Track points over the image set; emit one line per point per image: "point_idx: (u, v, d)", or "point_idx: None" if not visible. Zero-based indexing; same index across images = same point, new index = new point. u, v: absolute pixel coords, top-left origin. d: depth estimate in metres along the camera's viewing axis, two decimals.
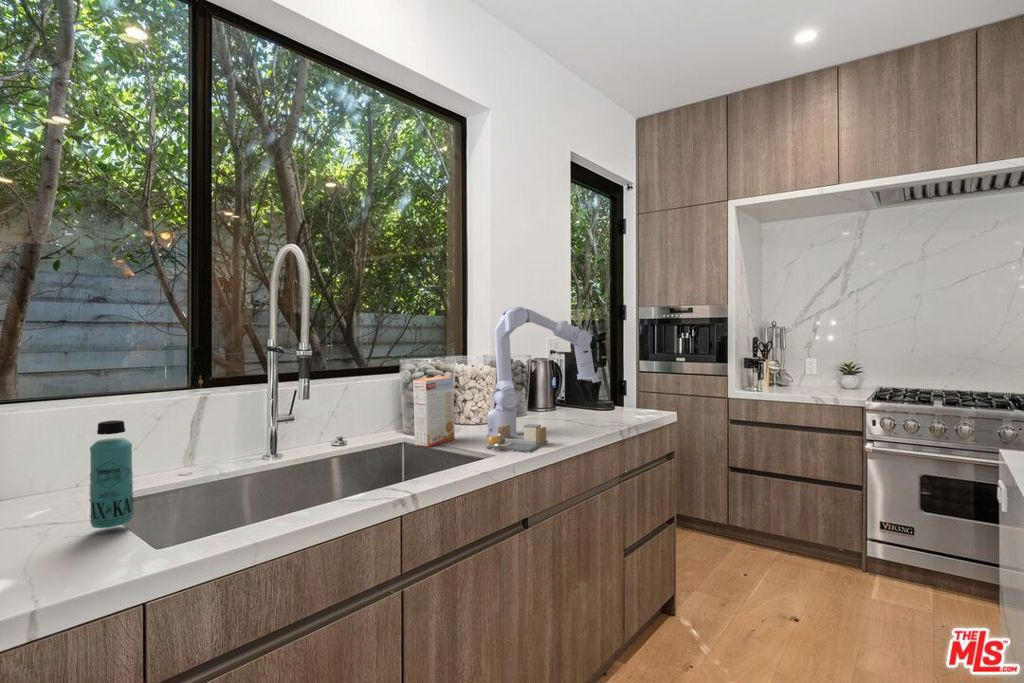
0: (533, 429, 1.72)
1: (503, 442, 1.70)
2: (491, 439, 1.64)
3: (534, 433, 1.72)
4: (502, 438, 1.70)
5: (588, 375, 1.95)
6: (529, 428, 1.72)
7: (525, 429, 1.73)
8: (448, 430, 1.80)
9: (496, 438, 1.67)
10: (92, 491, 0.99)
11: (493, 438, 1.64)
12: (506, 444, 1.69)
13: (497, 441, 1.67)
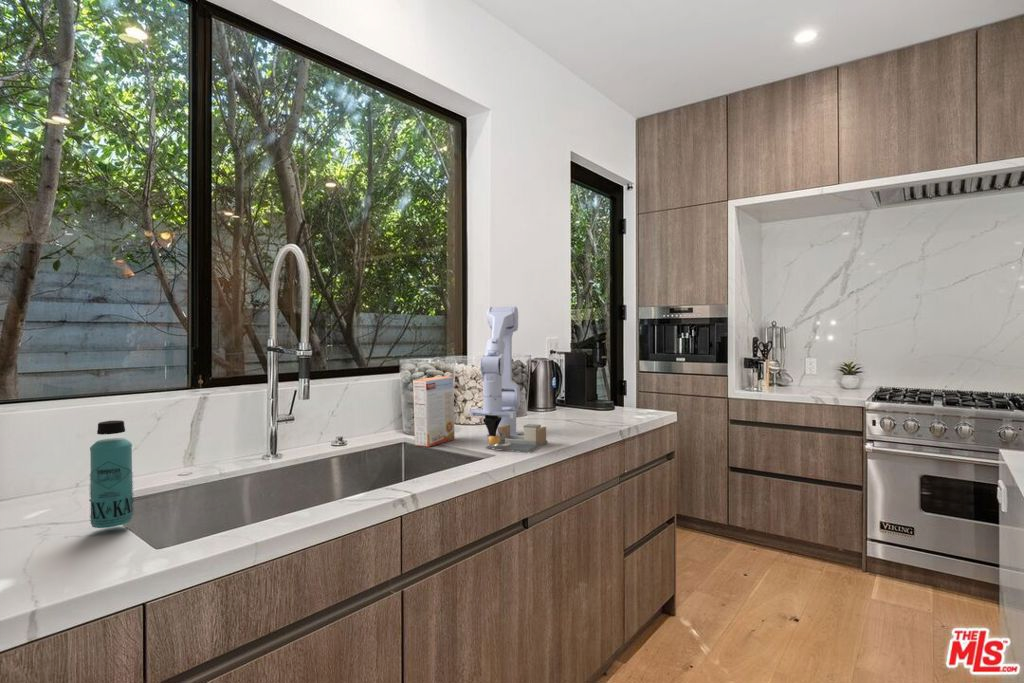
0: (533, 429, 1.72)
1: (503, 442, 1.70)
2: (491, 439, 1.64)
3: (534, 433, 1.72)
4: (502, 438, 1.70)
5: None
6: (529, 428, 1.72)
7: (525, 429, 1.73)
8: (448, 430, 1.80)
9: (496, 438, 1.67)
10: (92, 491, 0.99)
11: (493, 438, 1.64)
12: (506, 444, 1.69)
13: (497, 441, 1.67)
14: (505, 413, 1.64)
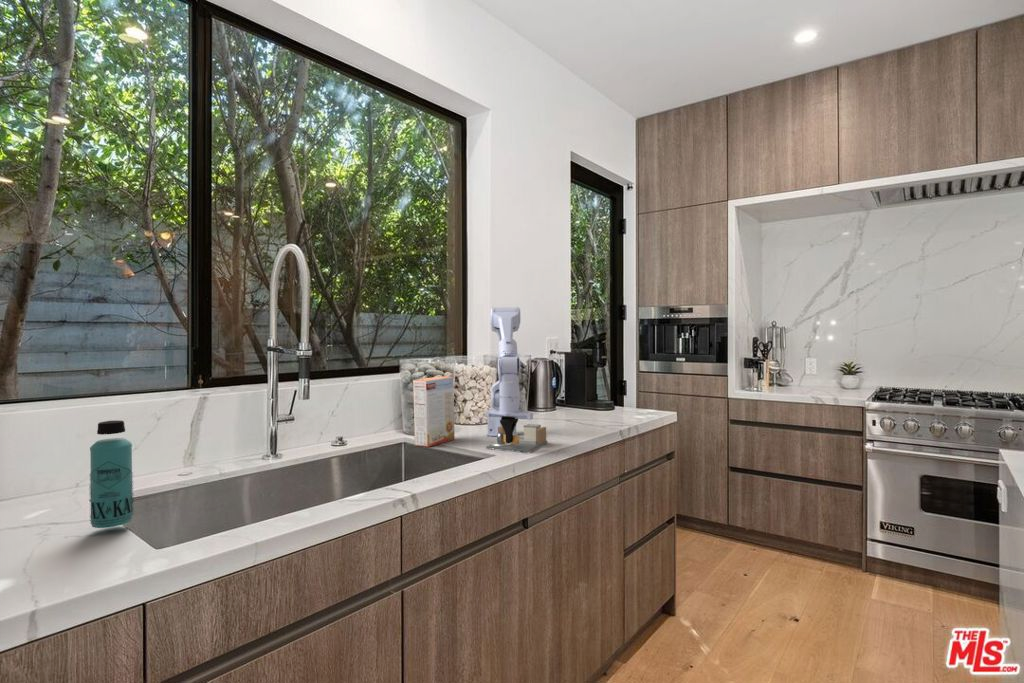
0: (533, 429, 1.72)
1: (503, 442, 1.70)
2: (518, 437, 1.66)
3: (534, 433, 1.72)
4: (502, 438, 1.70)
5: None
6: (529, 428, 1.72)
7: (525, 429, 1.73)
8: (448, 430, 1.80)
9: None
10: (92, 491, 0.99)
11: None
12: (506, 444, 1.69)
13: None
14: (522, 414, 1.62)
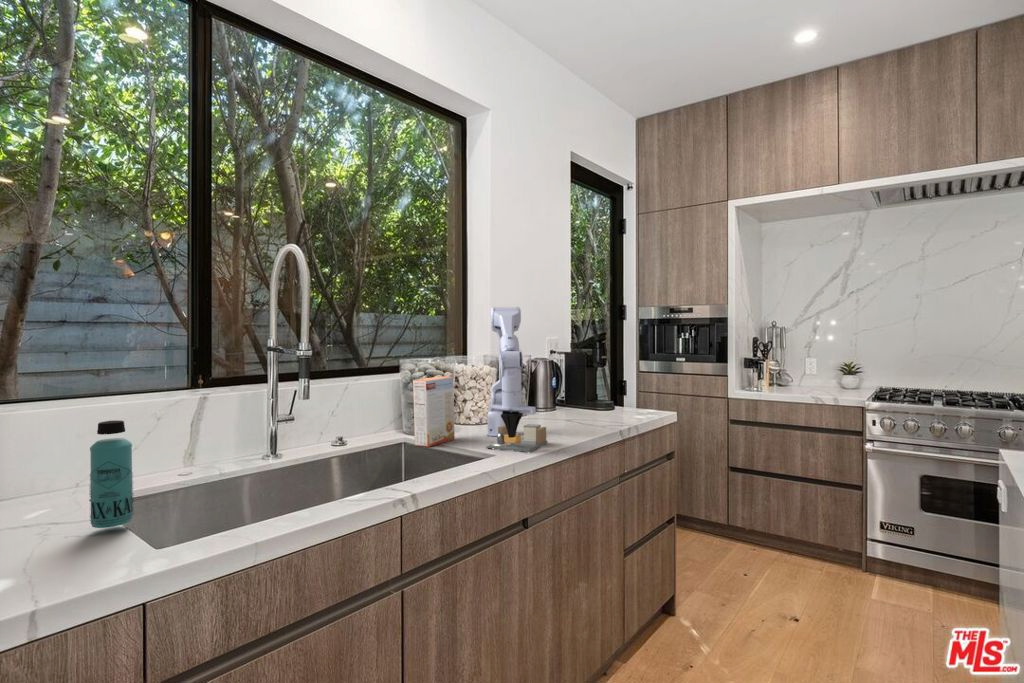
0: (533, 429, 1.72)
1: (503, 442, 1.70)
2: (520, 437, 1.67)
3: (534, 433, 1.72)
4: (502, 438, 1.70)
5: None
6: (529, 428, 1.72)
7: (525, 429, 1.73)
8: (448, 430, 1.80)
9: None
10: (92, 491, 0.99)
11: None
12: (506, 444, 1.69)
13: None
14: (525, 409, 1.61)
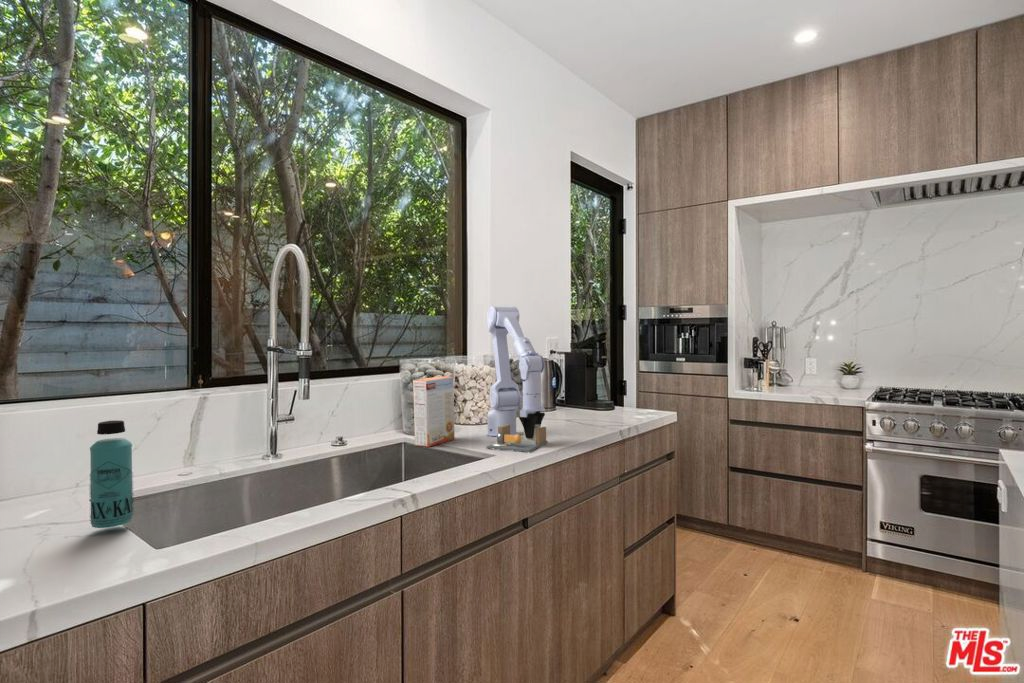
0: None
1: (503, 442, 1.70)
2: (520, 437, 1.67)
3: (534, 433, 1.72)
4: (502, 438, 1.70)
5: (526, 407, 1.72)
6: None
7: None
8: (448, 430, 1.80)
9: None
10: (92, 491, 0.99)
11: None
12: (506, 444, 1.69)
13: None
14: None
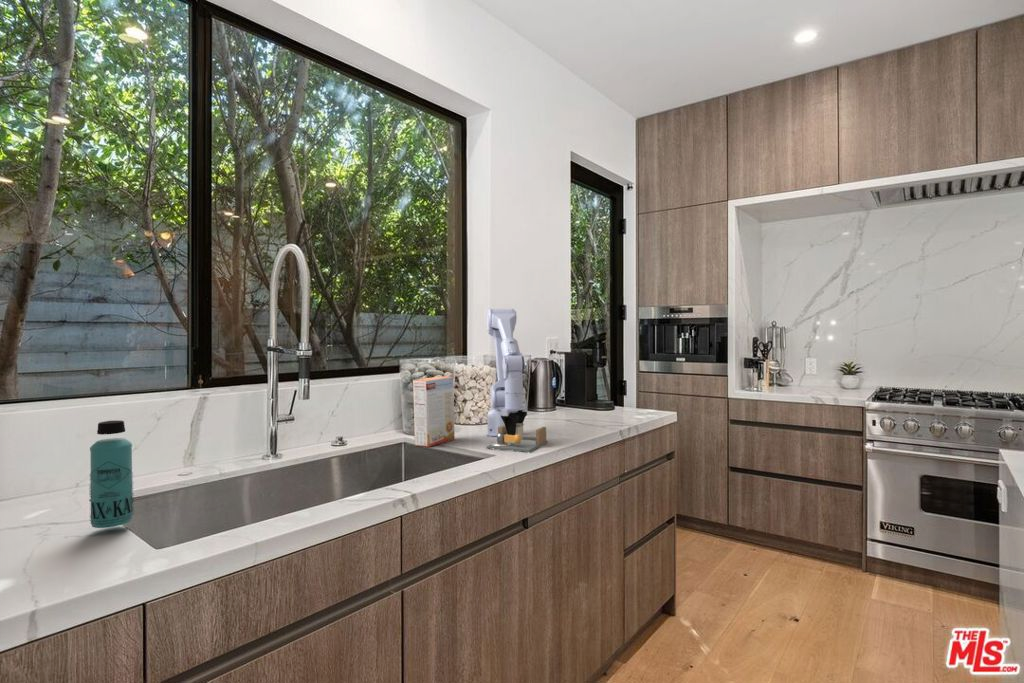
0: None
1: (503, 442, 1.70)
2: (520, 437, 1.67)
3: (516, 432, 1.74)
4: (502, 438, 1.70)
5: (508, 406, 1.74)
6: None
7: None
8: (448, 430, 1.80)
9: None
10: (92, 491, 0.99)
11: None
12: (506, 444, 1.69)
13: None
14: (524, 406, 1.80)
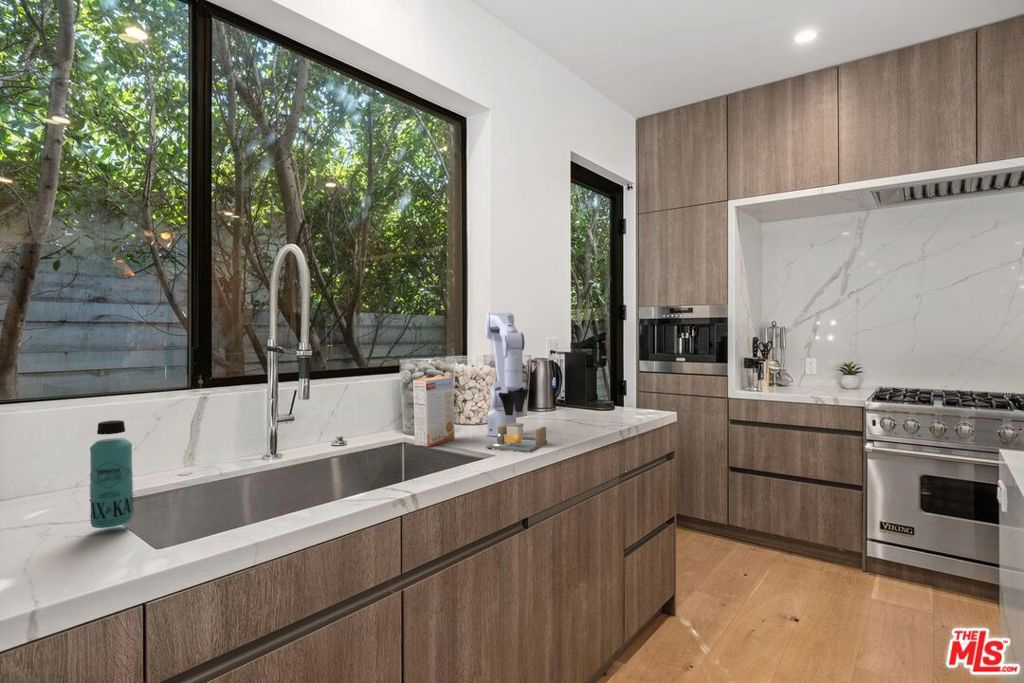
0: (515, 428, 1.74)
1: (503, 442, 1.70)
2: (520, 437, 1.67)
3: (516, 432, 1.74)
4: (502, 438, 1.70)
5: (508, 384, 1.74)
6: (512, 427, 1.75)
7: (508, 428, 1.75)
8: (448, 430, 1.80)
9: None
10: (92, 491, 0.99)
11: None
12: (506, 444, 1.69)
13: None
14: (523, 384, 1.80)
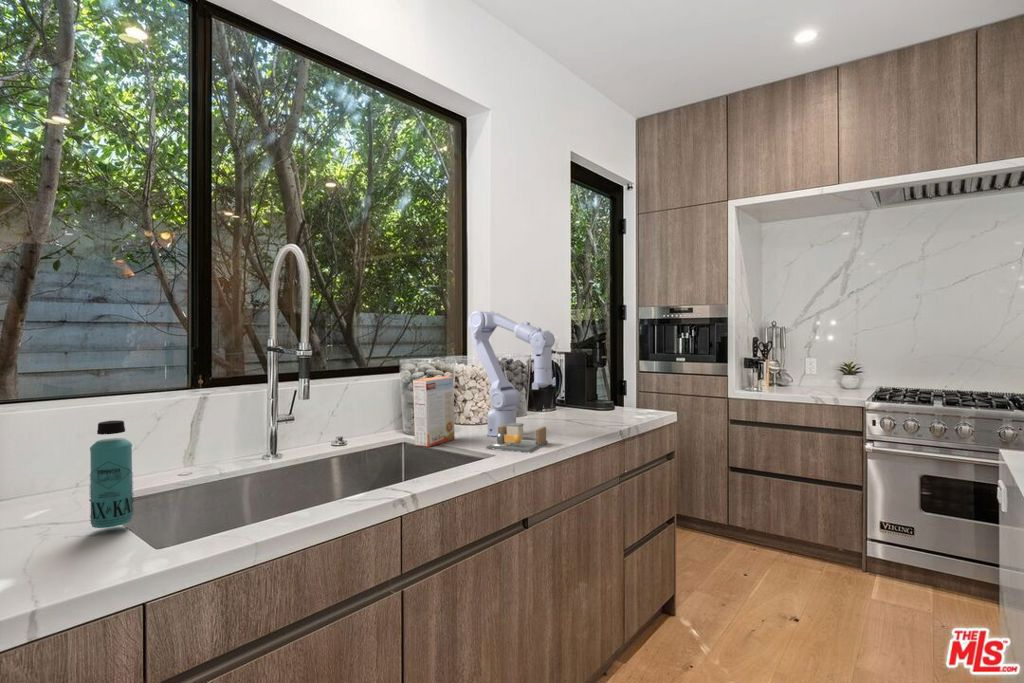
0: (515, 428, 1.74)
1: (503, 442, 1.70)
2: (520, 437, 1.67)
3: (516, 432, 1.74)
4: (502, 438, 1.70)
5: (538, 381, 1.79)
6: (512, 427, 1.75)
7: (508, 428, 1.75)
8: (448, 430, 1.80)
9: None
10: (92, 491, 0.99)
11: None
12: (506, 444, 1.69)
13: None
14: (552, 381, 1.85)
